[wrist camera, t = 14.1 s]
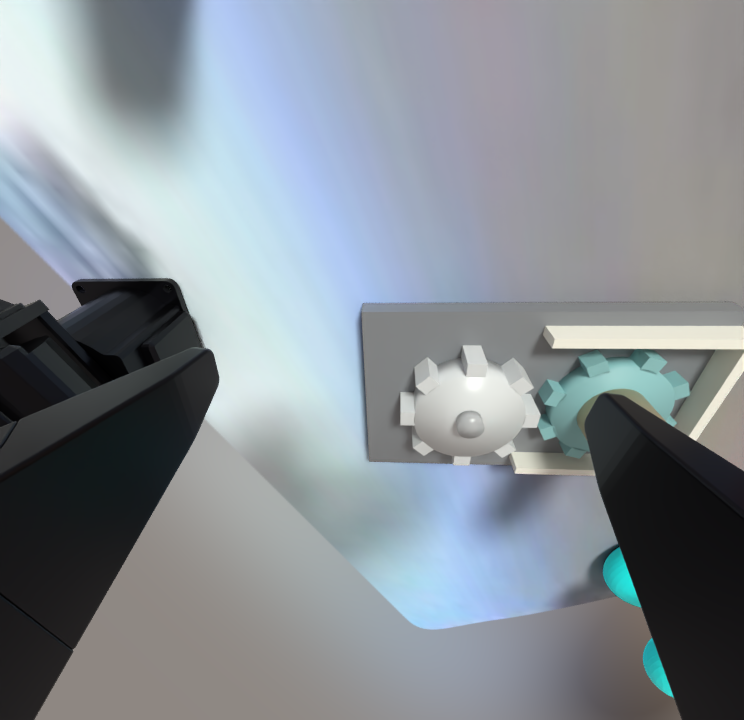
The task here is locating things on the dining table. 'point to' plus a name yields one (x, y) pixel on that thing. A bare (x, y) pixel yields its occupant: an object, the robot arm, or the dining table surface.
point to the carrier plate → (525, 373)
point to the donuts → (624, 589)
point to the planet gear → (606, 375)
